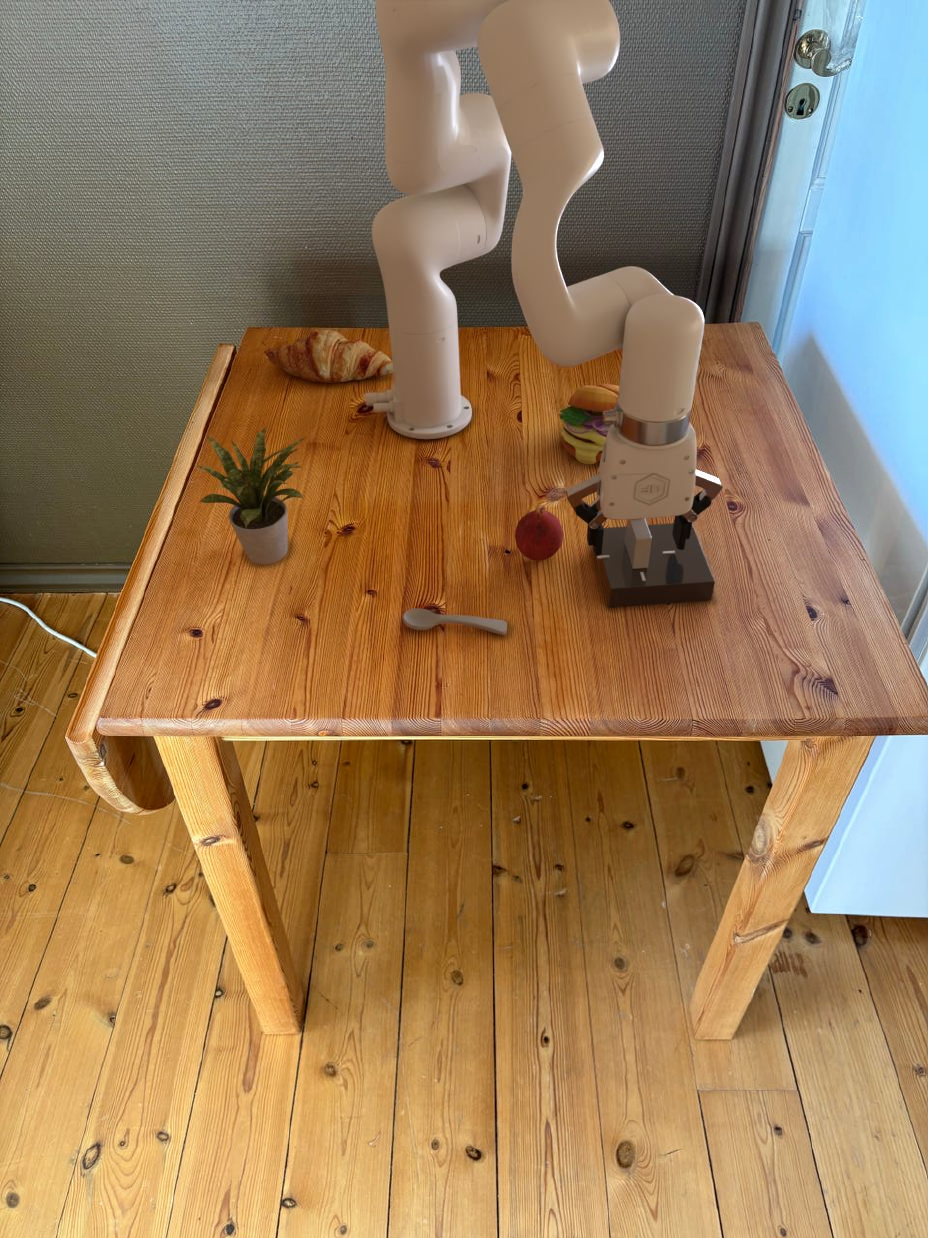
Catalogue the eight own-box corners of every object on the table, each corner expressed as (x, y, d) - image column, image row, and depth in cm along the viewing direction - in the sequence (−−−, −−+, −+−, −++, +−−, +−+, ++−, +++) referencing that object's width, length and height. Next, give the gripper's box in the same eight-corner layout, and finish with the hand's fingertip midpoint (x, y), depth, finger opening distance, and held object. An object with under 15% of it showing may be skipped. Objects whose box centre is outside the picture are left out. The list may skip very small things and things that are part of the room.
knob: (647, 568, 108) (652, 536, 104) (632, 569, 108) (636, 537, 104) (639, 540, 111) (643, 509, 108) (624, 541, 111) (627, 510, 108)
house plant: (333, 585, 112) (313, 473, 101) (217, 603, 110) (183, 492, 99) (322, 514, 122) (303, 405, 111) (215, 530, 120) (185, 421, 109)
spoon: (404, 614, 108) (404, 602, 106) (507, 626, 107) (508, 613, 106) (400, 632, 106) (400, 620, 104) (504, 644, 105) (506, 632, 103)
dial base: (603, 608, 107) (605, 588, 105) (588, 547, 115) (589, 527, 113) (711, 600, 108) (715, 580, 106) (688, 540, 116) (691, 520, 113)
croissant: (401, 386, 151) (404, 335, 149) (387, 388, 142) (389, 334, 140) (277, 376, 154) (278, 325, 152) (255, 377, 145) (255, 324, 142)
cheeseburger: (547, 460, 129) (553, 389, 124) (568, 436, 138) (575, 369, 132) (618, 473, 126) (628, 400, 121) (635, 448, 134) (645, 380, 129)
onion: (558, 577, 112) (561, 524, 106) (511, 572, 113) (511, 519, 107) (564, 546, 116) (567, 494, 110) (519, 541, 117) (519, 490, 111)
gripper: (575, 444, 94) (568, 571, 106) (745, 432, 94) (718, 561, 106) (564, 404, 99) (558, 530, 111) (725, 394, 99) (702, 520, 111)
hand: (637, 545), depth 108 cm, fingers open, 9 cm apart
